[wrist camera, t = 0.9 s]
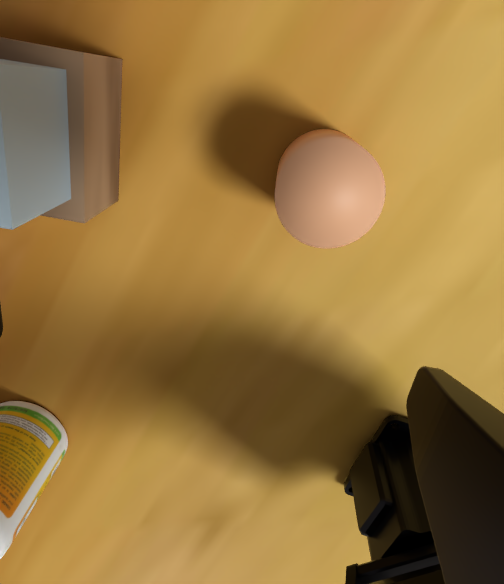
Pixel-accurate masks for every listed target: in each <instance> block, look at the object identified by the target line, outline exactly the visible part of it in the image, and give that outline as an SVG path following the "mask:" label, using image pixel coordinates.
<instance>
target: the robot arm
mask: <svg viewBox="0 0 504 584" xmlns="http://www.w3.org/2000/svg"><path fill="white" fill-rule="evenodd" d="M2 331H3V322H2V313H1V304H0V337H1V335H2ZM406 407H407V415H408V419H406V418H403V417H400V416H397V415H391V416H388V417H387V418H386V419H385V420H384V422H383V423H382V425H381V426H380V428H379V430H378V431H377V433H376V434H375V436H374V437H373V439H372V440H371V442H369V443H368V444H367V445H366V446H365V448H364V449H363V451H362V452H361V454H360V455H359V457H358V459H357V460H356V462H355V463H354V465H353V466H352V468H351V469H350V474H349V476H348V478H347V479H346V481H345V482H344V490H345V492H346V494H348V495H351V496H353V497H354V503H355V509H356V515H357V521H358V527H359V530H360V532H361V534H362V535H365V536H367V539H368V544H369V550H370V556H371V561H370V562H367V563H364V564H360V565H358V564H357V563H356V564H353V565H350V566H347V567H346V583H345V584H504V414H503V413H502V412H501V411H499V410H498V409H496V408H495V407H494V406H492V405H491V404H489V403H488V402H487V401H485V400H484V399H482V398H481V397H480V396H478V395H477V394H475V393H474V392H473V391H471V390H470V389H468V388H467V387H466V386H464V385H463V384H461V383H460V382H459V381H457V380H456V379H454V378H453V377H452V376H450V375H449V374H447V373H446V372H445V371H443V370H441V369H438V368H432V367H426V366H423V367H421V368H420V369H419V370H418V372H417V374H416V377H415V379H414V382H413V384H412V387H411V390H410V392H409V395H408V398H407V404H406ZM394 423H396V425H392V424H394Z"/></svg>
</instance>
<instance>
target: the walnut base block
mask: <svg viewBox="0 0 504 584" xmlns="http://www.w3.org/2000/svg"><path fill="white" fill-rule="evenodd" d="M0 59H4V60H10V61H17V62H23V63H29V64H35V65H41V66H48V67H54V68H60V69H66V78H67V104H68V130H69V157H70V183H71V199H70V200H68V201H66V202H64V203H62V204H60V205H58V206H57V207H55V208H53V209H51V210H49V211H47V212H45V213H43V214H41V215H42V216H47V217H53V218H58V219H64V220H69V221H75V222H80V223H86V222H87V221H89V220H90V219H92V218H93V217H95V216H96V215H98V214H99V213H101V212H102V211H104V210H105V209H107V208H108V207H109V206H111V205H112V204H114V203H115V202H117V201H118V195H119V159H120V123H121V88H122V59H119V58H113V57H108V56H102V55H97V54H91V53H86V52H80V51H75V50H69V49H64V48H58V47H53V46H48V45H42V44H37V43H31V42H26V41H20V40H15V39H9V38H4V37H0Z"/></svg>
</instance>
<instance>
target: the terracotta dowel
mask: <svg viewBox="0 0 504 584" xmlns="http://www.w3.org/2000/svg"><path fill="white" fill-rule="evenodd" d="M384 201H385V180H384V176H383V173H382V171H381V168H380V166H379V164H378V163H377V161H376V160H375V159H374V157H373V156H372V155H371V154H370V153H369V152H368V151H367V150H365V149H364V148H363V147H362V146H360V145H359V144H358V143H357V142H355V141H354V140H353V139H352V138H350V137H349V136H347V135H346V134H344V133H342V132H339V131H336V130H331V129H318V130H313V131H309V132H307V133H305V134H303V135H301V136H299V137H298V138H296V139H295V140H294V141H293V142H292V143H291V144H290V145H289V146H288V147H287V148H286V150H285V151H284V153H283V155H282V157H281V159H280V162H279V165H278V170H277V178H276V187H275V206H276V210H277V214H278V216H279V219H280V221H281V223H282V225H283V226H284V227H285V229H286V230H287V231H288V232H289V233H290V234H291V235H292V236H293V237H294V238H296V239H297V240H299V241H300V242H302V243H304V244H307V245H309V246H313V247H317V248H337V247H342V246H345V245H348V244H350V243H352V242H354V241H356V240H357V239H359V238H361V237H362V236H363V235H364V234H366V233H367V232H368V231H369V230H370V229H371V228H372V226H373V225H374V224H375V222H376V221H377V219H378V217H379V216H380V213H381V211H382V208H383V205H384Z"/></svg>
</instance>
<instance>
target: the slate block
mask: <svg viewBox="0 0 504 584" xmlns="http://www.w3.org/2000/svg"><path fill="white" fill-rule="evenodd" d="M70 199H71V183H70V157H69V130H68V104H67V78H66V69H60V68H54V67H48V66H41V65H35V64H29V63H23V62H17V61H10V60H4V59H0V228H6V229H12V230H13V229H15V228H17V227H18V226H20V225H22V224H24V223H26V222H28V221H30V220H32V219H34V218H36V217H38V216H39V215H41V214H43V213H45V212H47V211H49V210H51V209H53V208H55V207H57V206H58V205H60V204H62V203H64V202H66V201H68V200H70Z"/></svg>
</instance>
